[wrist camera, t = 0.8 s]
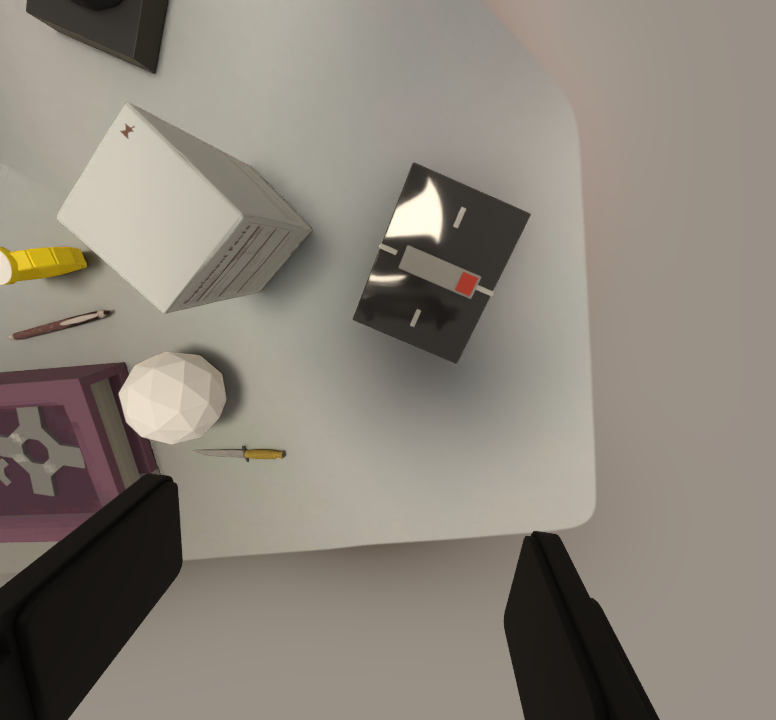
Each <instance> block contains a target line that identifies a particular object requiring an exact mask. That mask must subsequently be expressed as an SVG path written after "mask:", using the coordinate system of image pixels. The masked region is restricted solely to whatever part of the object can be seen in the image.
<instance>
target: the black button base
mask: <svg viewBox="0 0 776 720" xmlns="http://www.w3.org/2000/svg"><path fill="white" fill-rule="evenodd" d="M167 4H168V0H27V6H26V12H27V13H29V14H31V15H32V16H34V17H35V18H37V19H39V20H40V21H42V22H43V23H45V24H47V25H48V26H50V27H52V28H53V29H55V30H56V31H59V32H61V33H63V34H66V35H68V36H70V37H72V38H75V39H77V40H79V41H82V42H84V43H86V44H88V45H91V46H93V47H95V48H98V49H100V50H102V51H104V52H107V53H109V54H111V55H114V56H116V57H118V58H120V59H123V60H125V61H127V62H130V63H132V64H134V65H136V66H139V67H141V68H143V69H146V70H148V71H150V72H152V73H155V72H156V66H157V60H158V55H159V49H160V43H161V38H162V32H163V26H164V21H165V15H166V9H167Z"/></svg>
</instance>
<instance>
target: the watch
mask: <svg viewBox="0 0 776 720" xmlns="http://www.w3.org/2000/svg"><path fill="white" fill-rule="evenodd" d="M82 268H87V263H86V261H85V259H84V257H83V254H82V252H81V250H80V249H78V248H72V247H50V248H48V247H46V248H36V249H27V250H20V251H15V252H10V251H9V250H7V249H6V248H4V247H0V285H7V284H13V283H15V282H17V281H23V280H33V279H41V278H43V277H44V278H47V277H53V276H59V275H63V274H66V273H69V272H72V271H76V270H79V269H82Z"/></svg>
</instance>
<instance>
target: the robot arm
mask: <svg viewBox="0 0 776 720" xmlns="http://www.w3.org/2000/svg"><path fill="white" fill-rule="evenodd" d="M182 561H183V559H182V544H181V528H180V513H179V498H178V486H177V484H176V483H174V482H173V479H172V477H170V476H166V475H159V474H153V473H148V474H145V475H144V476H142V477H141V478H140V479H138V480H137V481H136V482H134V483H133V484H132V485H131V486H129V487H128V488H127V489H126V490H124V491H123V492H122V493H120V494H119V495H118V496H117V497H115V498H114V499H113V500H112V501H110V502H109V503H108V504H107V505H105V506H104V507H103V508H101V509H100V510H99V511H98V512H96V513H95V514H94V515H93V516H91V517H90V518H89V519H87V520H86V521H85V522H84V523H82V524H81V525H80V526H79V527H77V528H76V529H75V530H73V531H72V532H71V533H70V534H68V535H67V536H66V537H65V538H63V539H62V540H61V541H59V542H58V543H57V544H56V545H54V546H53V547H52V548H51V549H49V550H48V551H47V552H45V553H44V554H43V555H42V556H40V557H39V558H38V559H37V560H35V561H34V562H33V563H31V564H30V565H29V566H28V567H26V568H25V569H24V570H23V571H21V572H20V573H19V574H18V575H16V576H15V577H14V578H12V579H11V580H10V581H9V582H7V583H6V584H5V585H4V586H2V587H1V588H0V720H68V718H69V717H70V716H71V715H72V713H73V712H74V711H75V709H76V708H77V707H78V706H79V704H80V703H81V702H82V700H83V699H84V698H85V696H86V695H87V694H88V692H89V691H90V690H91V689H92V687H93V686H94V685H95V683H96V682H97V681H98V679H99V678H100V677H101V675H102V674H103V673H104V671H105V670H106V669H107V668H108V666H109V665H110V664H111V662H112V661H113V660H114V658H115V657H116V656H117V654H118V653H119V652H120V651H121V649H122V647H123V646H124V645H125V644H126V643H127V641H128V640H129V639H130V637H131V636H132V635H133V633H134V632H135V631H136V630H137V628H138V627H139V626H140V624H141V623H142V622H143V620H144V619H145V618H146V616H147V615H148V614H149V612H150V611H151V610H152V608H153V607H154V606H155V604H156V603H157V602H158V601H159V599H160V598H161V597H162V595H163V594H164V593H165V592H166V590H167V589H168V588H169V586H170V585H171V584H172V582H173V581H174V580H175V578H176V577H177V576H178V574H179V572H180V569H181V567H182ZM504 629H505V634H506V639H507V643H508V647H509V652H510V656H511V660H512V665H513V669H514V674H515V678H516V682H517V687H518V691H519V696H520V700H521V705H522V709H523V713H524V718H525V720H660V719H659V718H658V716H657V714H656V712H655V710H654V708H653V706H652V704H651V702H650V700H649V698H648V696H647V694H646V693H645V691H644V689H643V687H642V685H641V683H640V681H639V679H638V677H637V675H636V673H635V671H634V669H633V667H632V666H631V664H630V662H629V660H628V658H627V656H626V654H625V652H624V650H623V648H622V646H621V644H620V642H619V640H618V638H617V637H616V635H615V633H614V631H613V629H612V627H611V625H610V623H609V621H608V619H607V617H606V615H605V614H604V612H603V610H602V608H601V606H600V605H599V603H598V602H597V601H596V600H594V599H593V598H590V597H589V594H588V592H587V591H586V588H585V586H584V584H583V582H582V581H581V578H580V576H579V575H578V573H577V570H576V568H575V567H574V564H573V563H572V560H571V559H570V557H569V554H568V552H567V551H566V549H565V546H564V544H563V542H562V541H561V539H560V537H559V536H558V535H557V534H552V533H546V532H539V531H533V533H532V534H531V536H525V538H524V540H523V544H522V548H521V552H520V556H519V560H518V563H517V567H516V571H515V575H514V579H513V583H512V586H511V590H510V594H509V598H508V602H507V605H506V609H505V614H504Z"/></svg>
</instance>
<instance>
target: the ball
mask: <svg viewBox="0 0 776 720" xmlns="http://www.w3.org/2000/svg"><path fill="white" fill-rule="evenodd" d="M118 394H119V398H120V401H121V405H122V409H123V413H124V416H125V420H126V423H127V424H128V425H129V426H131V427H132V428H133V429H134V430H135V431H136V432H137V433H138V434H139V435H140V436H141V437H144V438H148V439H152V440H156V441H160V442H164V443H168V444H175V443H179V442H183V441H187V440H191V439H195V438H199V437H201V436H202V435H203V434H204V433H205V432H206V431H207V430H208V429H209V428H210V427H211V426H212V425H213V424H214V423H215V422H216V421H217V420H218V419H219V418H220V415H221V413H222V410H223V408H224V405H225V403H226V400H227V399H226V393H225V388H224V382H223V376H222V374H221V373H220V372H219V371H218V370H217V369H216V368H214V367H213V366H212V365H211V364H210V363H208V362H207V361H206V360H205V359H204V358H203V357H201V356H200V355H193V354H184V353H176V352H167V351H166V352H164V353H161V354H158V355H155V356H152V357H151V358H149V359H147V360H145V361H143V362H141V363H139V364H137V365H135V366H134V368H133V369H132V371H131V373H130V374H129V376H128V378H127V380H126V381H125V383H124V385H123V386H122V388H121V390H120V392H119V393H118Z"/></svg>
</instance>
